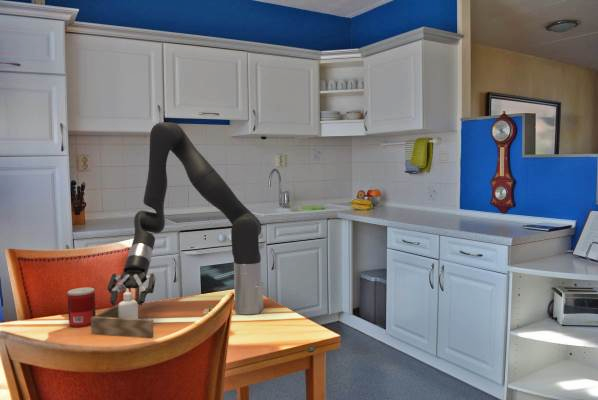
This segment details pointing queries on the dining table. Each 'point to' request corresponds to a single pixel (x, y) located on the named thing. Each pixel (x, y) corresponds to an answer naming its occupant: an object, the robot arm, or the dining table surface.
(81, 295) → the canned food
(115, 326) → the corner arena
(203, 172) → the robot arm
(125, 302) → the eye dropper bottle
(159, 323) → the dining table surface
